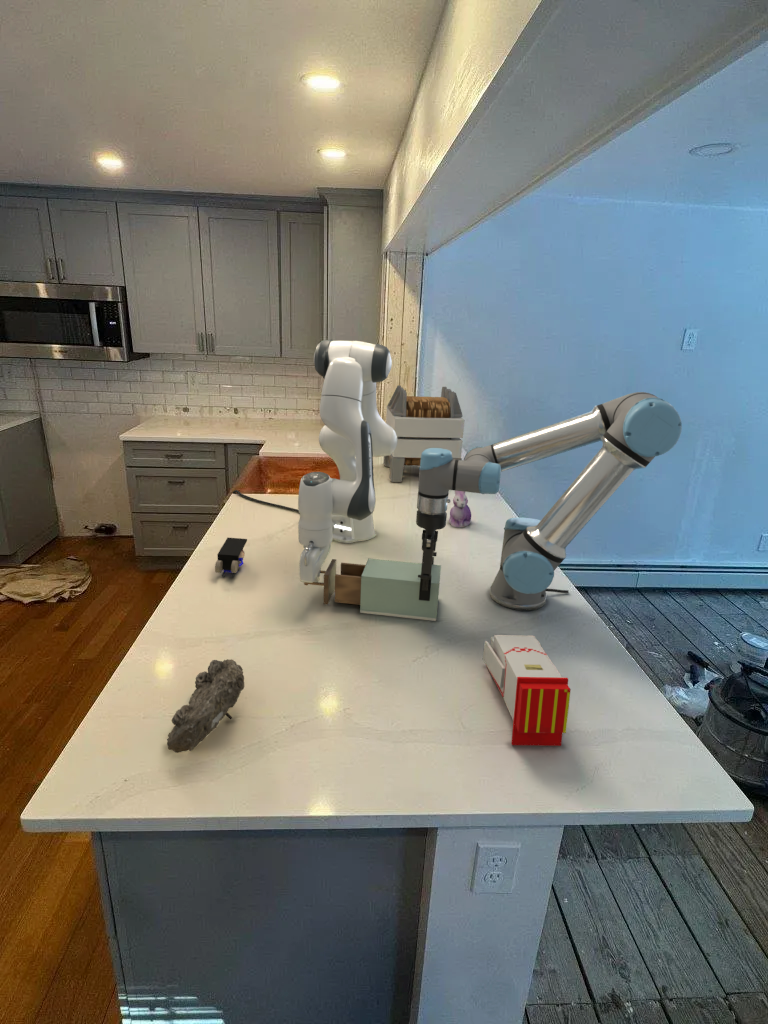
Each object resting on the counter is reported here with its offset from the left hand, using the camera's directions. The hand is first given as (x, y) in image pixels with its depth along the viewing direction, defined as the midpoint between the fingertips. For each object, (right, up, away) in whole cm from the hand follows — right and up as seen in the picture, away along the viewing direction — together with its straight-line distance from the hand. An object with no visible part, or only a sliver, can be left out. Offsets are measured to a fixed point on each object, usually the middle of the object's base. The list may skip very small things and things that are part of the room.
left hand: (315, 582), depth 152 cm
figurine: (+47, +14, +59) cm, 77 cm away
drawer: (+10, -4, 0) cm, 10 cm away
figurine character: (-26, +2, +15) cm, 31 cm away
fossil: (-14, -20, -44) cm, 51 cm away
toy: (+46, -20, -35) cm, 61 cm away
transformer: (+36, +38, +123) cm, 133 cm away
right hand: (+29, -1, -4) cm, 30 cm away
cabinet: (+23, -6, -1) cm, 24 cm away
